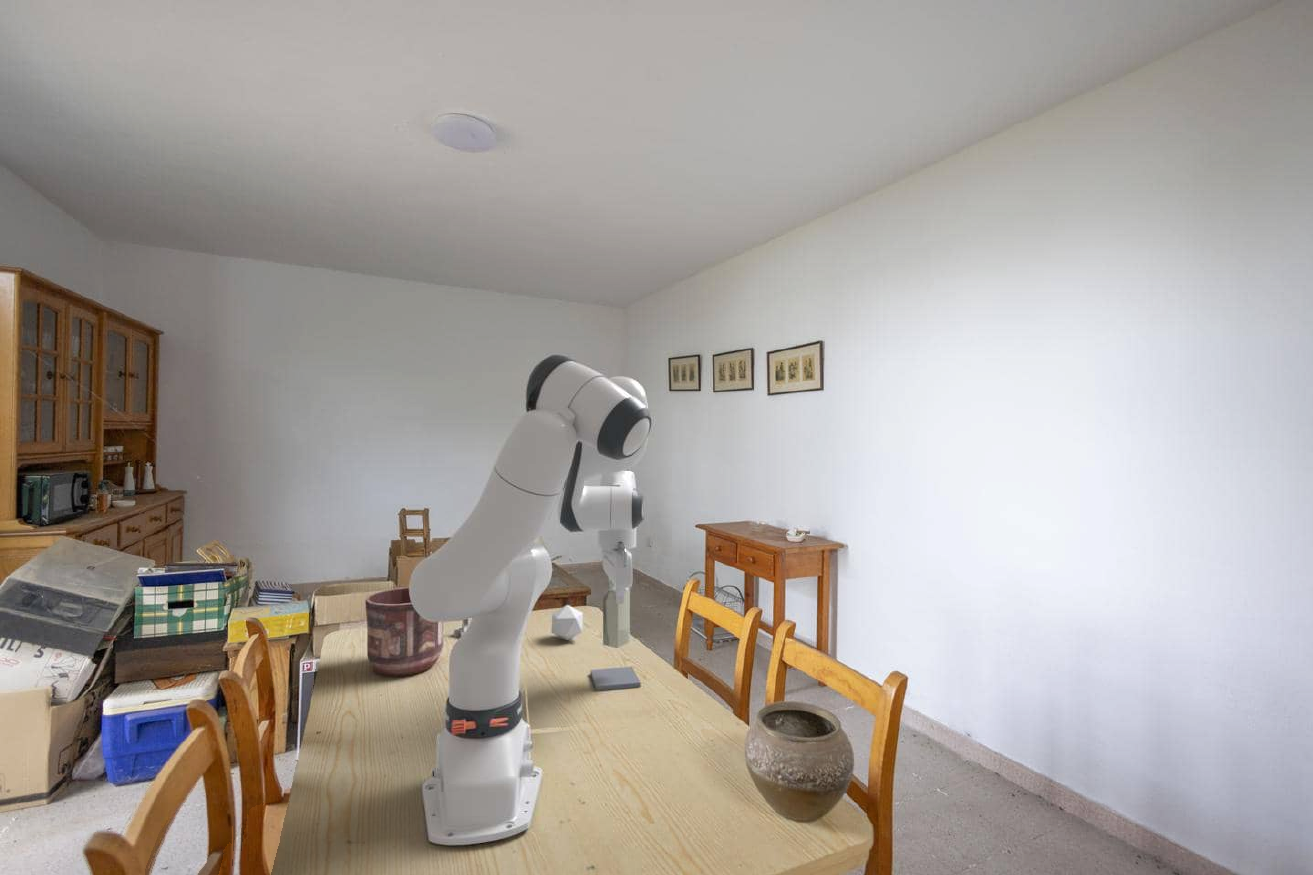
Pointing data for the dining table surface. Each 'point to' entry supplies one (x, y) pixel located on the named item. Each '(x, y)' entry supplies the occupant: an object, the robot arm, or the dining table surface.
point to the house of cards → (461, 630)
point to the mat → (615, 678)
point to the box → (616, 619)
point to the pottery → (400, 635)
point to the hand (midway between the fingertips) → (616, 598)
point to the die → (567, 622)
